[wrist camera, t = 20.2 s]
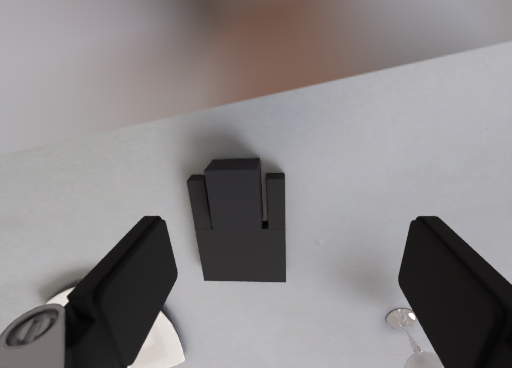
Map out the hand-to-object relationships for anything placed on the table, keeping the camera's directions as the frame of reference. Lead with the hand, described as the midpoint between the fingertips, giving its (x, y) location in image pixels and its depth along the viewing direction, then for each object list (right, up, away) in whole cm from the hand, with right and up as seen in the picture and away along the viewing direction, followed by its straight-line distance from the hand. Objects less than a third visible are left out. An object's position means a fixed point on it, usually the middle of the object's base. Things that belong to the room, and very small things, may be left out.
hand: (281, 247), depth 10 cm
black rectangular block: (-3, +2, +23) cm, 23 cm away
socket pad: (-3, -4, +25) cm, 26 cm away
